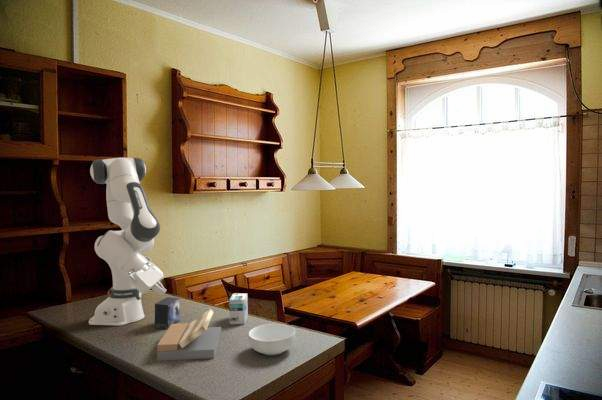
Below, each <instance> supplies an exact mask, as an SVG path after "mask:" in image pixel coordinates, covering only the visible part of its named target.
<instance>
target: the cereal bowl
mask: <svg viewBox="0 0 602 400" xmlns="http://www.w3.org/2000/svg"><path fill="white" fill-rule="evenodd" d="M296 337H297V335H296V329H295V328H294V327H293V326H291V325H289V324H288V325H287V324H283V323H268V324H267V323H266V324H261V325H259V326H255V327H253V328H252V329H250V330H249V332H248V342H249V345H250V347H251V348H252V349H253V350H254V351H256V352H258V353H261V354H263V355H266V356H277V355H280V354H283V353H284V352H286V351H288V350H290V348H292V346H293V345H294V344H295V341H296Z"/></svg>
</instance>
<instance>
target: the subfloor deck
mask: <svg viewBox="0 0 602 400" xmlns="http://www.w3.org/2000/svg"><path fill="white" fill-rule="evenodd" d="M189 324H190V323H189V322H187V323H186V322H182V323H179V322H178V323H176V324H171V325H170V327H169V328H168V329H166V332H165V333H164V334H163V336H162V337H161V339H160V340H159V341H158V344H157V345H156V347H157V350H156V357H157V358H156V361H157V362H158V361H159V362H160V361H177V360H178V361H180V360H199V359H201V360H203V359H215V356H216V353H217V349H218V347H219V343H220V339H221V337H222V326H212V327H211V326H208V327H207V330H206V331H205V332H204V333H202V334H201V335H199V336H198V337H197V338H195V339H194V340H193V341H191V342H190V343H188V344H187V345H186V346H184V347H183V348H182V347H181V346H180V345H179V342H180V340H181V338H182V337H183V335H184V333H185V331H186V329H187V327H188V326H189Z"/></svg>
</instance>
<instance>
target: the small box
mask: <svg viewBox="0 0 602 400" xmlns="http://www.w3.org/2000/svg"><path fill="white" fill-rule="evenodd" d="M180 307H181V299H180V297H171V296H167V297H165V298H163V299H161V300H159V301H157V302H155V303H154V329H160V330H161V329H162V330H168V328H169V327H170V325H171V324H178V323H179V322H180V321H181V308H180Z"/></svg>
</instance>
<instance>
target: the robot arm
mask: <svg viewBox="0 0 602 400" xmlns="http://www.w3.org/2000/svg"><path fill="white" fill-rule="evenodd" d="M146 172H147V167H146V164H145V161H144V160H143V159H142V158H140V157H115V158H106V159H105V158H104V159H96V160H93V161H92V163H91V166H90V168H89V173H90V176H91V179H92V180H93V182H95V183H96V184H100V185H104V184H106V189H105V191H106V192H105V193H106V196H105V197H106V198H105V200H106V207H107V216H108V219H109V221H110V222H111V223H113V224H115V225H117V226H119V227H120V229H121V230H111V229H110V230H108V231H106V232H105V233H104V235H100V236H98V237H97V239H96V240H95V242H94V251H95V253H96V255H97V256H98V257H99V259H100V258H101V259H102V260H104V261H105V262H106V263H107V264H108V266H109V268H110V271H111V275H112V286H111V288H110V289H109V290H108V291H107V295H108V297H107V298H106V299H104V300H103V301H102V302H101V303H100V304H99V305H97V307H96V308H95V311H94V315H93V316H92V317H90V318H89V320H88V325H91V326H119V327H121V326H124V325H127V324H130V323H134V322H138V321H140V320H142V319H144V318H145V317H146V316H145V312H144V309H143V305H142V295H145V294H146V293H148V292H149V291H150V290H152V291H154V292H156V293H158V294H159V295H160V296H163V295H164V294H165V293H166V292H167V289H166V288H165V287H164V285H163V284H162V282H161V280H162V279H163V278H164V277H165V275H164V273H163V272H162V270H161V269H160V268H159V267H158V266H157V265H156V264H154V262H152V260H153V259H151V258H150V257H149V256H146V255H145V256H144V255H143V254H146V253H149V252H151V251H152V249H153V248H154V245H155V238H156V237H157V236H158V234H159V233H160V231H161V225H160V221H159V220H158V219H157V217H156V215H155V214H154V212H153V211H152V208H151V206H150V202H149V199H148V197H147V194H146V191H145V189H144V187H143V185H141V183H140V182H141V181H142V180H143V179H144V178H145V177H146V174H147V173H146Z"/></svg>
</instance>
